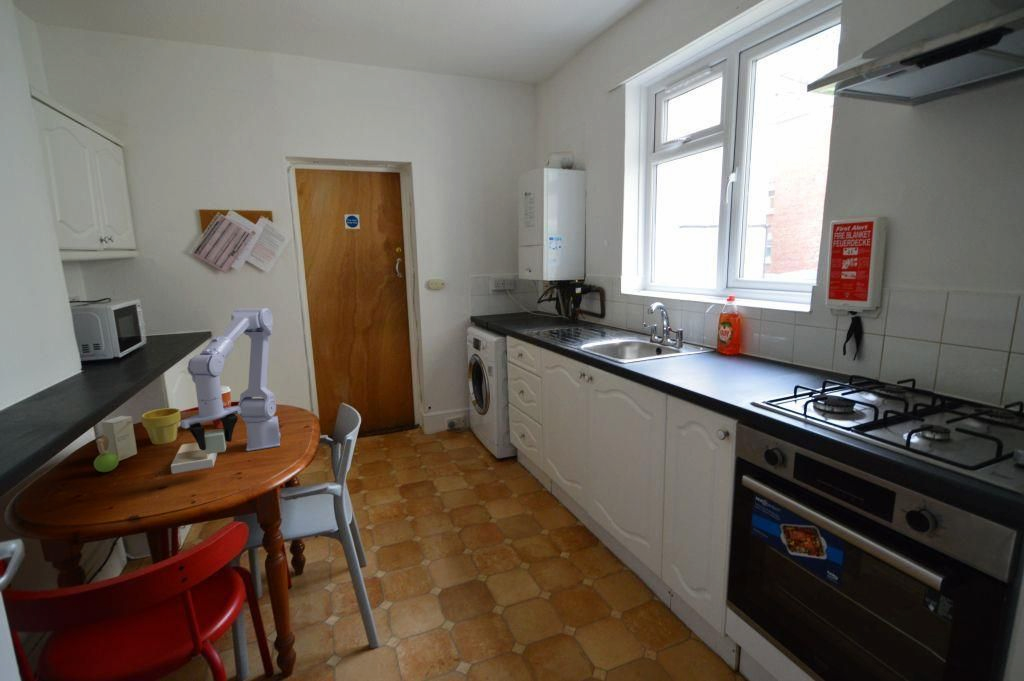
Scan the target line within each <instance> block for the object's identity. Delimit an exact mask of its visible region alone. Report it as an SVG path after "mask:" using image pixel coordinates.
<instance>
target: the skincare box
mask: <svg viewBox="0 0 1024 681" xmlns="http://www.w3.org/2000/svg"><path fill="white" fill-rule="evenodd" d="M100 423H101V429H102V434H103V435H102V436H106V437H107V438H108V441H109V447H108V453H113V454H115V455H116V456H117V457H118V459H119V462H120V461H122V460H126V459H128V458H130V457H132V456H135V455H137V454H138V450H137V442H136V436H135V431H134V423H133V417H132V416H128V415H119V416H116V417H113V418H112V417H111V418H109V419H107V420H104V421H101V422H100Z"/></svg>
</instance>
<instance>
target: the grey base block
mask: <svg viewBox="0 0 1024 681" xmlns="http://www.w3.org/2000/svg"><path fill="white" fill-rule="evenodd" d="M217 456H218V453H212V454H209V456H208V458H207V459H202V460H196V461H190V462H183V463H179V462H178V455H177V454H175V456H174V459H173V460H172V463H171V465H170V470H171V474H172V475H173V474H181V473H186V472H191V471H192V472H193V471H197V470H204V469H209V468H214V466H215V464H216V463H215V462H216V459H217Z"/></svg>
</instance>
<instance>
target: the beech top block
mask: <svg viewBox="0 0 1024 681" xmlns="http://www.w3.org/2000/svg"><path fill="white" fill-rule="evenodd" d="M176 455H178V462H179V463H183V462H190V461H196V460H202V459H207V458H208V456H209V454H206V451H205V450H201V449H199V446H198V443H197V441H196V442H190V443H183V444H181V445H180V446H179V449H178V451H177V453H176Z"/></svg>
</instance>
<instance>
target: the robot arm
mask: <svg viewBox="0 0 1024 681" xmlns="http://www.w3.org/2000/svg"><path fill="white" fill-rule="evenodd" d="M273 324H274V316H273V314H272V312H271V311H270V309H269V308H267V307H263V308H262V307H261V308H259V307H258V308H256V307H255V308H247V307H246V308H245V307H244V308H241V307H238V308H236V309H235V310H234V311H233V312H232V313H231V321H230V322H229V325H228V326H227V327H226V329H225V330H224V332H223V333H222V334H221V335H218V336H213V337H212V338H211V341H210V342H209V343H208V345H206V347H205V348H204V349H203V350H202V351H201V352H200V353H199V354H195V355H193V356H191V358H190V359H189V360H188V364H187V365H188V366H187V367H186V368H187V372H188V373H189V375H190V376H191V380H192V382H193V383H194V384H195V391H196V392H195V393H196V398H197V407H198V414H195V415H193V416H190V417H188V418H185V419H181V421H180V426H181V428H183V429H187V430H188V431H189V433H191V435H192V437H193V438H194V439H195V441H196V442H197V443H198V446H199V449H201V450H206V444H205V436H204V435H205V432H206V431H205V430H206V427H204V426H203V425H202V424H204V423H207V422H213V421H212V420H216V419H219V418H221V421H222V425H223V428H222V429H224V430H225V438H226V443H230V442H232V439H233V438H232V437H233V434H234V433H233V432H234V429H235V426H236V424H237V421H238V420H239V418H238V417H240V418H241V419H242V421H244V422H245V427H246V438H247V442H246V449H245V451H246V452H251V451H257V450H262V449H271V448H275V447H279V446H281V438H282V437H281V436H282V435H281V432H280V425H279V417H278V415H275V413H276V412H277V403H276V396H275V395H276V394H274V393H273V392H272V391H271V390H270V389H268V386H267V384H268V368H269V353H270V338H271V337H270V336H271V335H272V334H273V328H274V327H273V326H274V325H273ZM243 334H244V335H247V336H248V337H249V338H250V351H249V352H250V354H249V369H248V370H249V371H248V386H247V387H248V388H247V389H246V390H245V391H243V392H242V393H241V394H240V399H239V401H238V404H237V405H235V406H231V407H229V408H223V401H222V393H221V386H222V385H221V378H220V374H221V373H222V372H223V370H224V365H225V362H226V359H227V358H228V357H229V355H230V354H231V353H232V351H233V350H234V348H235V345H234V342H235V341H236V340H237V339H238V338H240V336H241V335H243ZM238 415H239V416H238Z"/></svg>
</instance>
